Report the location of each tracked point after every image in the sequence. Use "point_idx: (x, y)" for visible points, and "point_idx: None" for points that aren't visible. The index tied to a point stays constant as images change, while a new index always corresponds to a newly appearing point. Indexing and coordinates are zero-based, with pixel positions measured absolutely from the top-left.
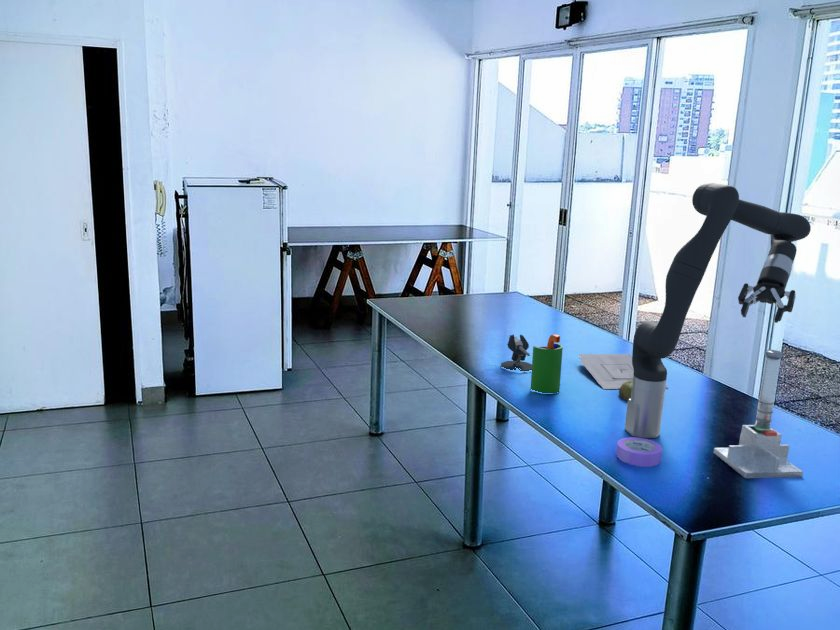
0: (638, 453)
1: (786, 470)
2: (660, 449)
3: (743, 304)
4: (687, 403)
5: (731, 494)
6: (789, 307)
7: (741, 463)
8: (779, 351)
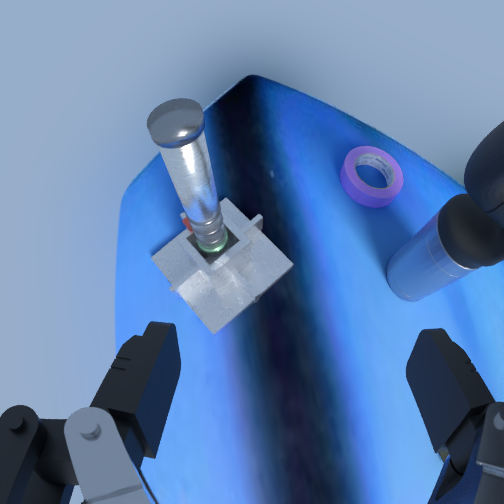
0: (361, 146)
1: (173, 245)
2: (347, 171)
3: (490, 399)
4: (396, 479)
5: (233, 148)
6: (25, 409)
7: (238, 226)
8: (156, 132)
